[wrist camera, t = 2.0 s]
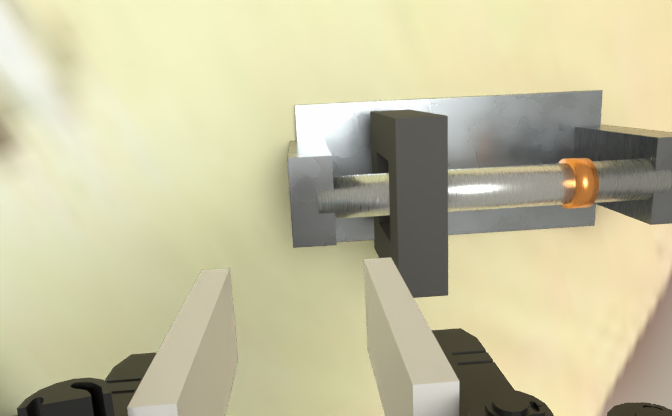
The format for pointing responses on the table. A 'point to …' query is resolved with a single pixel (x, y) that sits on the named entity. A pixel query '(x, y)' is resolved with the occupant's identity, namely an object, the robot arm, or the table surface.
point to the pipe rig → (482, 166)
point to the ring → (413, 196)
